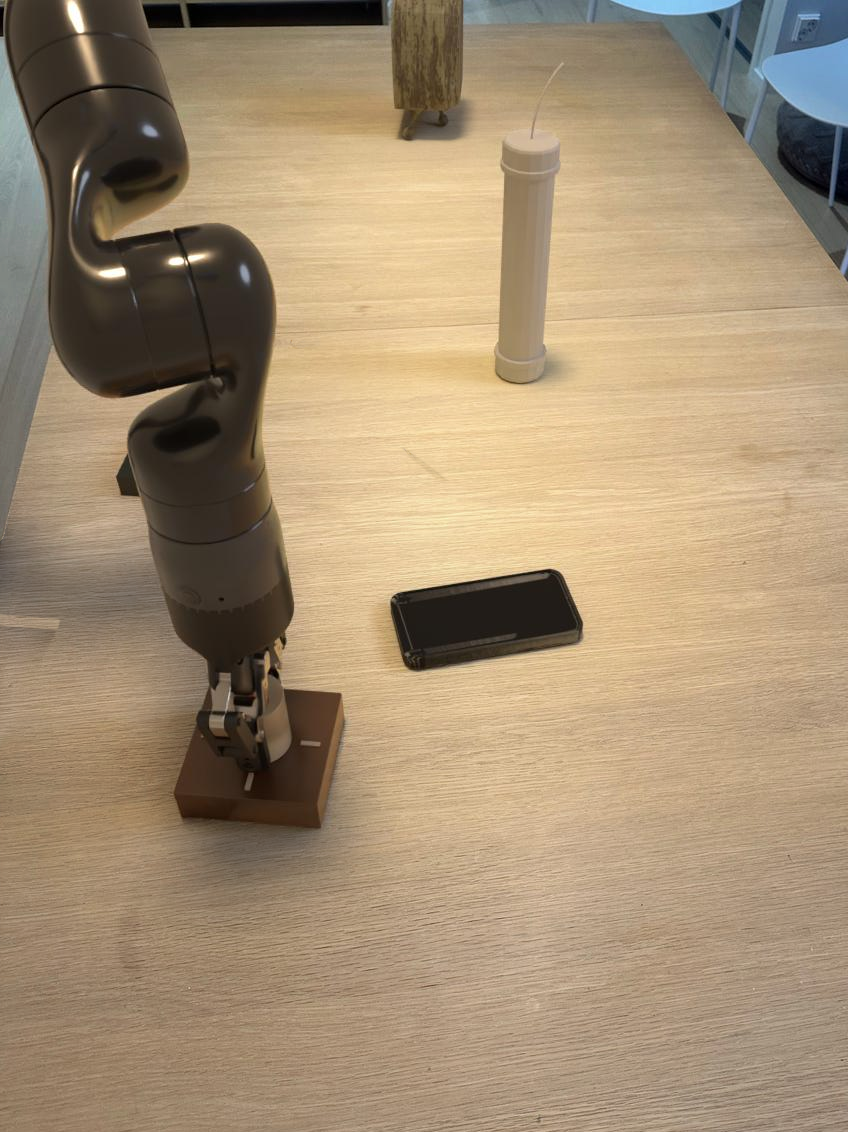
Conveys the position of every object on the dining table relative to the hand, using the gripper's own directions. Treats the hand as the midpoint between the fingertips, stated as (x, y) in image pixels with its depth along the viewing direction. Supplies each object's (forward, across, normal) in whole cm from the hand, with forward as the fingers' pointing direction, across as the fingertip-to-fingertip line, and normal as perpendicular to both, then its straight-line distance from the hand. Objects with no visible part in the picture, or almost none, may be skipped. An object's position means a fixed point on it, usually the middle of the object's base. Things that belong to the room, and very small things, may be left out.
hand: (262, 736), depth 75 cm
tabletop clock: (+4, +117, 0) cm, 117 cm away
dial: (0, 0, 0) cm, 0 cm away
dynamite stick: (+4, +54, -16) cm, 56 cm away
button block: (+3, +33, +15) cm, 36 cm away
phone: (+4, +16, -15) cm, 22 cm away
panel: (+4, 0, 0) cm, 4 cm away
